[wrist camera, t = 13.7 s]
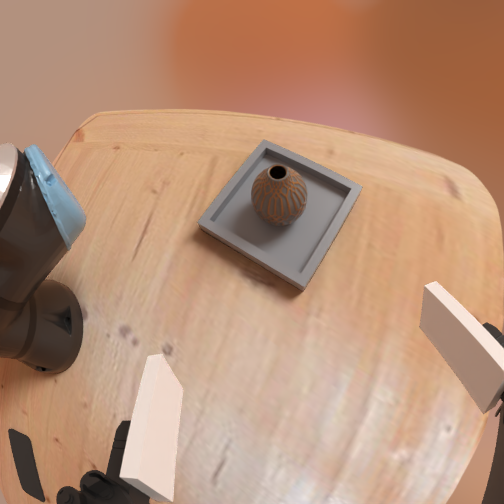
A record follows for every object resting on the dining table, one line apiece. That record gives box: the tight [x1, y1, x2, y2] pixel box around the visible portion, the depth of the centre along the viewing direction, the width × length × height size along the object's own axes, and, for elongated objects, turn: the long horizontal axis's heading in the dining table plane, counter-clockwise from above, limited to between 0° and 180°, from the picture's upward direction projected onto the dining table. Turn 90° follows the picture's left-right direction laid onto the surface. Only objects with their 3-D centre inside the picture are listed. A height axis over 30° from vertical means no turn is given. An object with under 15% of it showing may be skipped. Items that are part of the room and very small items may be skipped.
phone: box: [8, 429, 45, 502], centre depth 29 cm, size 7×1×15 cm
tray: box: [197, 139, 363, 291], centre depth 39 cm, size 16×16×2 cm
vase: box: [251, 164, 308, 226], centre depth 35 cm, size 7×7×9 cm
